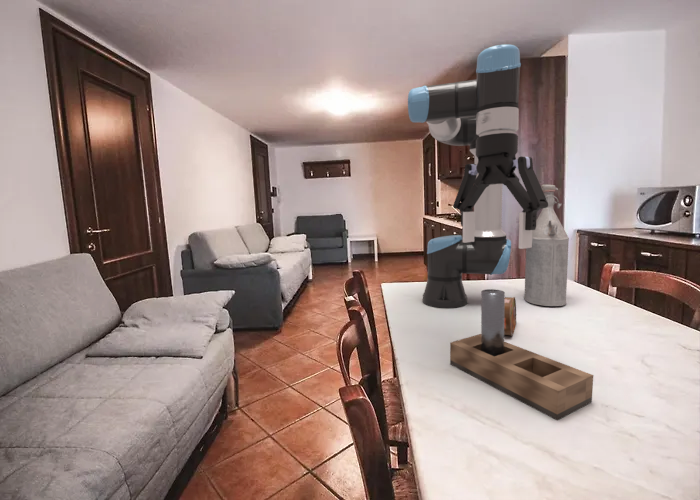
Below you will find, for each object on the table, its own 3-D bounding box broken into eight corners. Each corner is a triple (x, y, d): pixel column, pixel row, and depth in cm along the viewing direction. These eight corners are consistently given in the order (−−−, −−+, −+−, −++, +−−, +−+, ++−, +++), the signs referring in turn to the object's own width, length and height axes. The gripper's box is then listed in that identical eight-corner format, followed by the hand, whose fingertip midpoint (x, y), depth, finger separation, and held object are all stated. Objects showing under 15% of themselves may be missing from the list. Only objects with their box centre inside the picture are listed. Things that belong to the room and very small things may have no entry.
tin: (511, 340, 91) (512, 308, 90) (498, 338, 93) (498, 307, 92) (517, 322, 104) (517, 294, 103) (505, 321, 106) (505, 293, 105)
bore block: (450, 364, 79) (450, 342, 78) (482, 353, 84) (482, 333, 83) (557, 420, 58) (558, 391, 58) (591, 402, 63) (593, 375, 62)
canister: (529, 307, 117) (533, 184, 112) (520, 294, 134) (523, 186, 128) (573, 309, 113) (579, 182, 108) (559, 295, 130) (564, 184, 125)
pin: (476, 365, 76) (476, 291, 74) (491, 360, 78) (491, 288, 76) (493, 373, 72) (494, 296, 70) (508, 367, 74) (509, 292, 72)
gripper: (436, 144, 78) (437, 241, 81) (546, 119, 56) (541, 253, 59) (462, 145, 82) (461, 238, 85) (574, 123, 60) (568, 249, 63)
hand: (494, 244), depth 72 cm, fingers open, 13 cm apart
